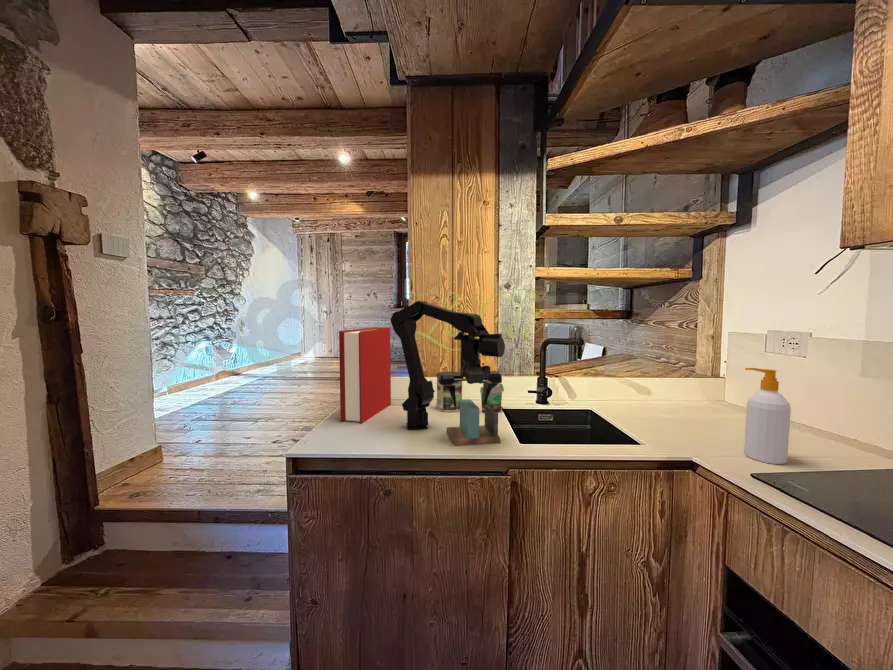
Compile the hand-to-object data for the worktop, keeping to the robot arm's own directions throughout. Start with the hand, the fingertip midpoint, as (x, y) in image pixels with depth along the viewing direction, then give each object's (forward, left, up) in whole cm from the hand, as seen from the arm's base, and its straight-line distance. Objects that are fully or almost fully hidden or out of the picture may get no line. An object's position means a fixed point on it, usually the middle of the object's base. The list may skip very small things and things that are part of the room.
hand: (469, 405), depth 109 cm
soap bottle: (+74, -28, -10) cm, 80 cm away
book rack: (+1, 0, -10) cm, 10 cm away
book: (-32, +33, -10) cm, 47 cm away
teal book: (0, 0, -9) cm, 9 cm away
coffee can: (0, +33, -10) cm, 35 cm away
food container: (+17, +27, -10) cm, 34 cm away
